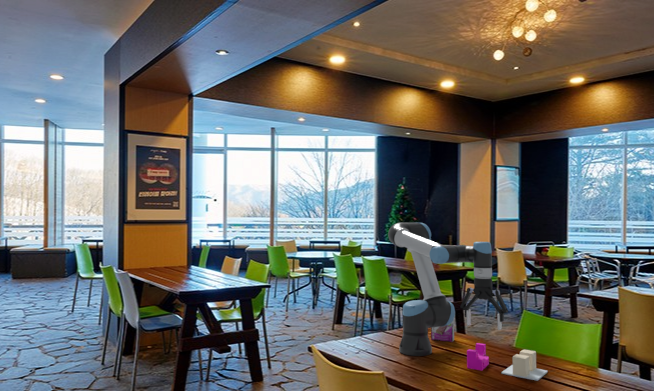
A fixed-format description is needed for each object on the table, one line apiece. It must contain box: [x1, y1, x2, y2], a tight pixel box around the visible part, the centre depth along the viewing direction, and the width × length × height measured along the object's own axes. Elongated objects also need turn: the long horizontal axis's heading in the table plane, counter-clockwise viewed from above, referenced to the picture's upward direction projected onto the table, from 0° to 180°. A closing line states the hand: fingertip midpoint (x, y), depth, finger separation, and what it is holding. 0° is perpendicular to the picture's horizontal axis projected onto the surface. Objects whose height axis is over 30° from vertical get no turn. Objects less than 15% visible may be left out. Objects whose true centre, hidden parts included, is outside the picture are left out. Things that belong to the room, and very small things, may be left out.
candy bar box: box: [430, 319, 455, 343], centre depth 256 cm, size 11×5×16 cm, turn 66°
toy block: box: [466, 342, 490, 371], centre depth 213 cm, size 15×6×8 cm, turn 147°
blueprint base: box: [501, 349, 549, 381], centre depth 202 cm, size 14×14×8 cm
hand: (484, 327), depth 213 cm, fingers open, 13 cm apart
